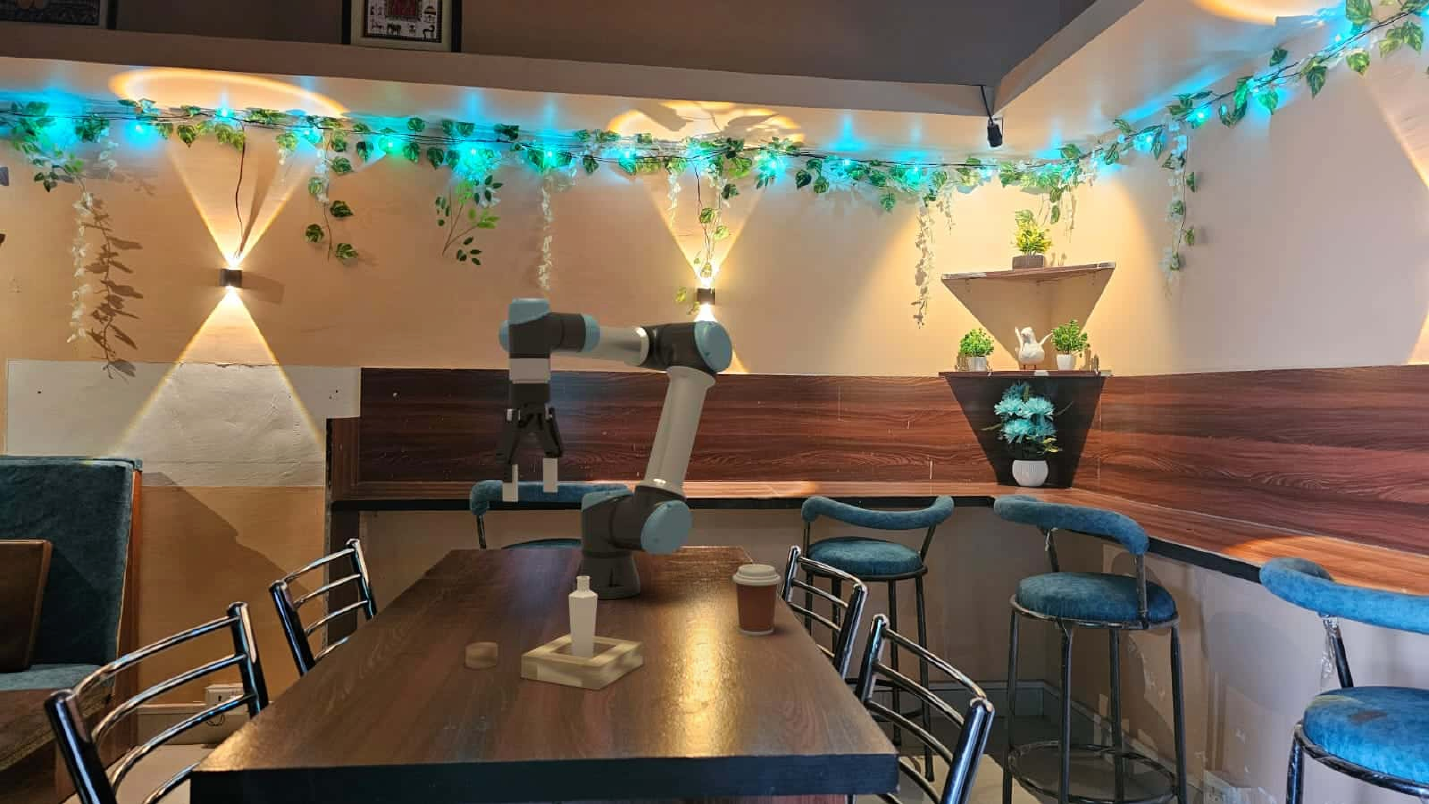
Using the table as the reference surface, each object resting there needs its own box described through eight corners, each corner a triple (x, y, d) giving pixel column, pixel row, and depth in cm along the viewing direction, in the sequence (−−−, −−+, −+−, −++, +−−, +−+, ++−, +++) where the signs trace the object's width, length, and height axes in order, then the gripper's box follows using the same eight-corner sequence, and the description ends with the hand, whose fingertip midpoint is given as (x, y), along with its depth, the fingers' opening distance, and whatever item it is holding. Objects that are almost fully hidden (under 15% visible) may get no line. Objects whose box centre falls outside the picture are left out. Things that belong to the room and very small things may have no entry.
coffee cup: (755, 640, 154) (756, 574, 154) (722, 629, 161) (722, 566, 161) (790, 631, 160) (790, 568, 160) (756, 621, 167) (757, 561, 167)
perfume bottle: (592, 676, 133) (592, 580, 133) (565, 674, 134) (566, 579, 134) (601, 667, 138) (602, 575, 138) (575, 665, 138) (576, 573, 138)
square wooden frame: (570, 653, 145) (570, 633, 145) (642, 663, 139) (642, 642, 139) (521, 677, 132) (521, 655, 132) (598, 690, 127) (598, 666, 127)
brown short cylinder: (479, 658, 142) (479, 640, 142) (503, 662, 140) (503, 644, 140) (459, 667, 137) (459, 648, 137) (484, 671, 135) (484, 652, 135)
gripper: (547, 382, 170) (549, 487, 170) (471, 382, 146) (473, 504, 147) (580, 382, 167) (582, 489, 168) (508, 382, 144) (510, 506, 144)
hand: (531, 496), depth 157 cm, fingers open, 13 cm apart
